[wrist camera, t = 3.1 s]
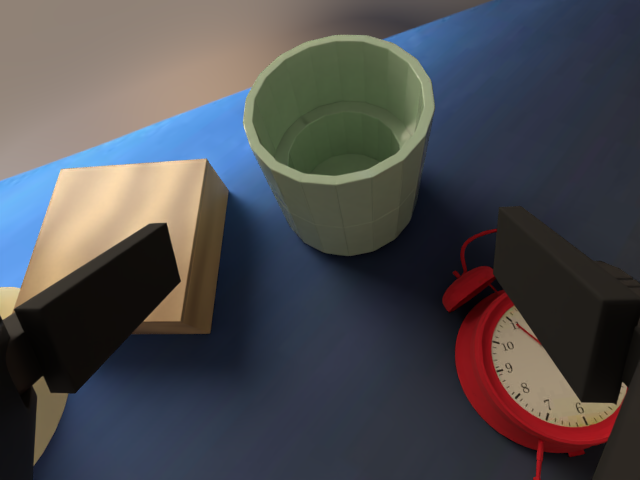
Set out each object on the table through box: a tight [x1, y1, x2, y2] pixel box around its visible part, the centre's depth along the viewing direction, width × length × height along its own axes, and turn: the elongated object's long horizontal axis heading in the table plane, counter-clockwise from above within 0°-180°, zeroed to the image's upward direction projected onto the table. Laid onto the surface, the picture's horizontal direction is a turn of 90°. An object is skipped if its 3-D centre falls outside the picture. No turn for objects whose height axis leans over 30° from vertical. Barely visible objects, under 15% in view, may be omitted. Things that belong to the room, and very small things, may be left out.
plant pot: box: [243, 35, 435, 256], centre depth 28 cm, size 11×11×12 cm
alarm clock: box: [442, 229, 628, 480], centre depth 24 cm, size 10×6×15 cm
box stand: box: [12, 159, 229, 334], centre depth 31 cm, size 13×13×5 cm
